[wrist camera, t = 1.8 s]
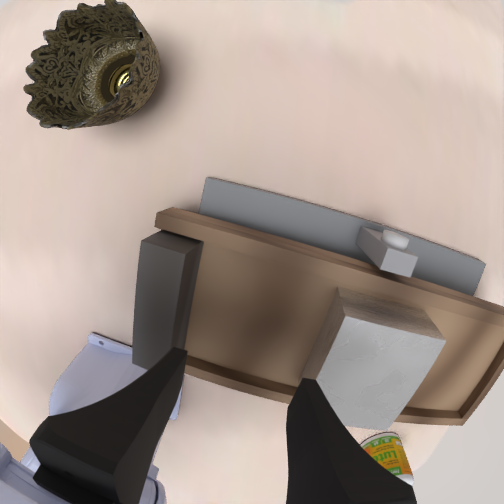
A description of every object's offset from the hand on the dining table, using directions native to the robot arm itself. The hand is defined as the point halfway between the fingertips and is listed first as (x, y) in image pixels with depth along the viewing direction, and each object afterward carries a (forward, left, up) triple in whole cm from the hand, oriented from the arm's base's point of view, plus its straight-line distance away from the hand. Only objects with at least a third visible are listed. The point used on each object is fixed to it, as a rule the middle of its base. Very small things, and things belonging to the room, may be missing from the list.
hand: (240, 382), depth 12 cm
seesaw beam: (+7, 0, -6) cm, 9 cm away
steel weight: (+7, 0, -5) cm, 9 cm away
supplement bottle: (+19, -17, -11) cm, 28 cm away
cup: (-12, +12, -11) cm, 20 cm away
